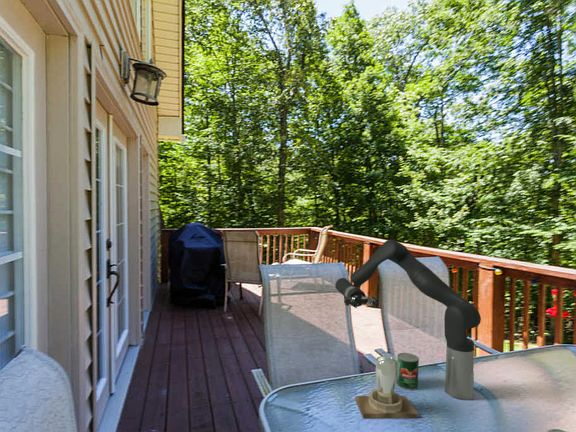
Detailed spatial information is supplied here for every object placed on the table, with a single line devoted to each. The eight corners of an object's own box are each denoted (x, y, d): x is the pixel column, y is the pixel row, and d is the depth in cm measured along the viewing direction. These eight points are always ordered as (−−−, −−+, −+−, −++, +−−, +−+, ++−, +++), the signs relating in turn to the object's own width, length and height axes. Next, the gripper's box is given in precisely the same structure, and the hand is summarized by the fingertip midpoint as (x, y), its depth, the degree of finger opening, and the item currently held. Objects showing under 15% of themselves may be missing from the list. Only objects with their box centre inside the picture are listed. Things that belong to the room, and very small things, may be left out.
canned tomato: (405, 391, 134) (406, 362, 133) (392, 381, 141) (393, 354, 141) (422, 388, 137) (423, 359, 136) (408, 378, 144) (409, 351, 144)
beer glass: (396, 410, 118) (398, 365, 117) (374, 408, 119) (376, 363, 119) (394, 399, 125) (396, 357, 124) (374, 397, 126) (375, 354, 126)
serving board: (405, 400, 128) (405, 388, 128) (417, 418, 117) (418, 405, 117) (355, 400, 127) (355, 388, 127) (363, 418, 116) (363, 406, 116)
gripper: (339, 287, 163) (349, 296, 146) (370, 287, 164) (383, 296, 148) (339, 304, 163) (349, 314, 147) (369, 304, 164) (382, 314, 148)
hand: (366, 305), depth 147 cm, fingers open, 8 cm apart
